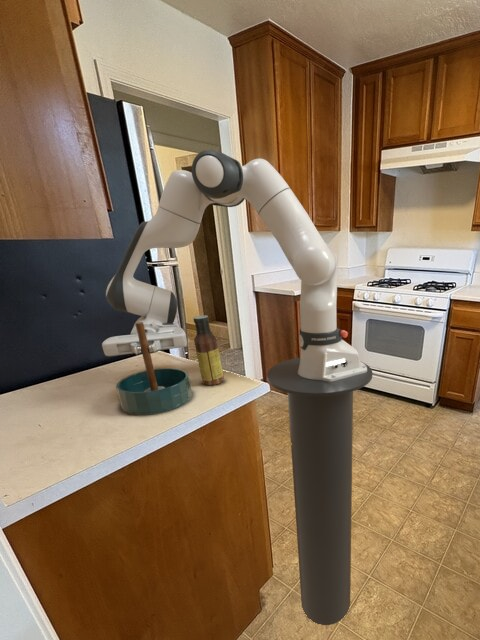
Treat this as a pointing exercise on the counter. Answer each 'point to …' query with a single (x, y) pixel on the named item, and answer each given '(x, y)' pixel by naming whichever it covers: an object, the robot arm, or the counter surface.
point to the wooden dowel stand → (147, 357)
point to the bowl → (154, 392)
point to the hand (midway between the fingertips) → (145, 350)
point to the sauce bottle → (207, 352)
